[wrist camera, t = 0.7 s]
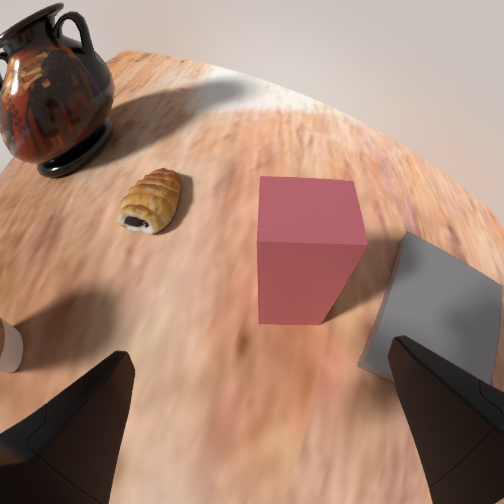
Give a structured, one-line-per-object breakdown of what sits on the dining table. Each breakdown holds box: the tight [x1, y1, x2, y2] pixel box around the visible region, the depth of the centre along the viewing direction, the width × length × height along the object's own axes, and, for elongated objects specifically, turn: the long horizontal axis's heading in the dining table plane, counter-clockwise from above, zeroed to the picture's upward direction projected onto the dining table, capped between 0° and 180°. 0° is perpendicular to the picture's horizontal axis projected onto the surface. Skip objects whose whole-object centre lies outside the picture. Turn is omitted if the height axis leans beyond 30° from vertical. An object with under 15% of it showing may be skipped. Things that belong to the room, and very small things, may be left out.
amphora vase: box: [0, 3, 115, 178], centre depth 29 cm, size 22×22×28 cm
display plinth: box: [357, 231, 502, 385], centre depth 22 cm, size 15×15×2 cm
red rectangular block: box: [257, 176, 368, 325], centre depth 20 cm, size 4×6×13 cm
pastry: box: [117, 168, 181, 234], centre depth 31 cm, size 9×7×4 cm
